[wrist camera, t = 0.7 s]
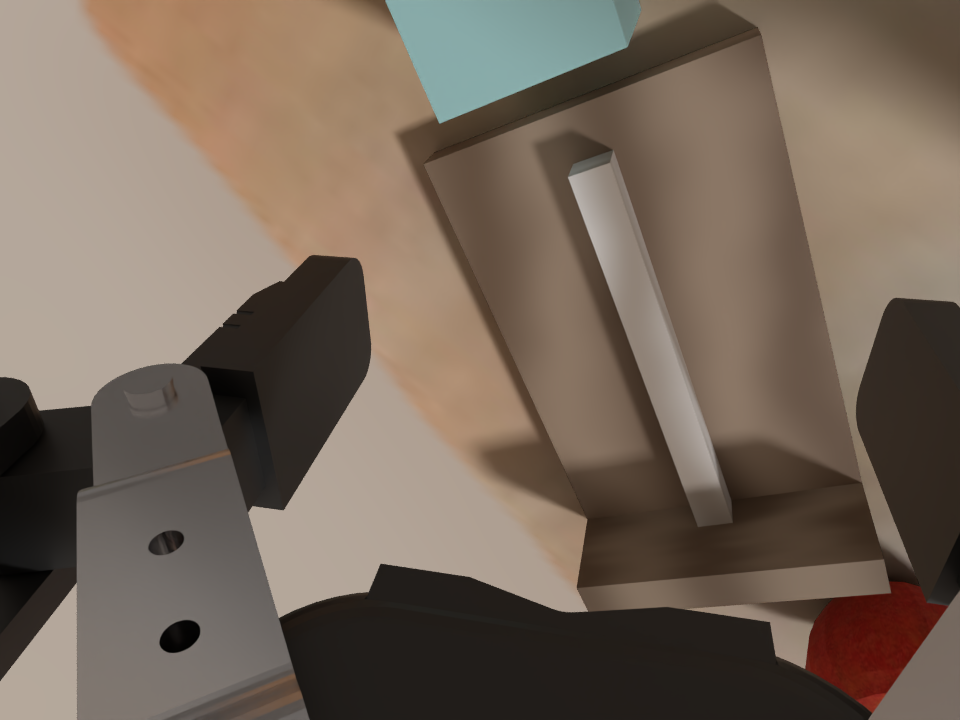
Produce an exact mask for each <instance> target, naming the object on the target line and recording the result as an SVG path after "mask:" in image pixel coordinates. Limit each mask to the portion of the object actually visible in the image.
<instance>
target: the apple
mask: <svg viewBox="0 0 960 720" xmlns="http://www.w3.org/2000/svg"><path fill="white" fill-rule="evenodd" d="M889 585H890V590H891V593H886V594H873V595H860V596H847V597H834V598H833V599H832V600H831V601H830V603H829V604H828V605H827V606H826V607H825V608H824V609H823V611H822V612H821V613H820V615H819V616H818V617H817V619H816V620H815V622H814V625H813V627H812V630H811V633H810V636H809V643H808V651H807V659H806V667H805V669H806V670H808V671H810V672H812V673H814V674H816V675H817V676H819V677H821V678H822V679H824V680H826V681H828V682H829V683H831V684H833V685H834V686H836V687H838V688H839V689H841V690H842V691H844V692H845V693H846V694H848V695H849V696H851V697H852V698H853V699H855V700H856V701H858V702H859V703H860V704H862V705H863V706H865V707H866V708H867V709H868V710H869V711H871V712H872V713H873V712H874V711H875V709H876V708H877V706H878V705H879V704H880V702H881V701H882V699H883V698H884V697H885V695H886V694H887V692H888V691H889V690H890V688H891V687H892V685H893V684H894V682H895V681H896V680H897V678H898V677H899V675H900V674H901V673H902V671H903V670H904V668H905V667H906V666H907V664H908V663H909V661H910V660H911V659H912V657H913V656H914V654H915V653H916V651H917V650H918V649H919V647H920V646H921V644H922V643H923V642H924V640H925V639H926V637H927V636H928V635H929V633H930V632H931V630H932V629H933V628H934V626H935V625H936V623H937V622H938V621H939V619H940V618H941V616H942V615H943V613H944V612H945V611H946V609H947V608H948V606H946V605H939V604H932V603H927V602H926V600H925V597H924V595H923V592H922V590H921V587H920V586H916V585H913V584H909V583H906V582H889Z"/></svg>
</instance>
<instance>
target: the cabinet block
mask: <svg viewBox="0 0 960 720" xmlns="http://www.w3.org/2000/svg"><path fill="white" fill-rule="evenodd" d="M385 1H386V3H387V6H388V8H389V10H390V12H391V15H392V17H393V19H394V22H395V24H396V26H397V28H398V31H399V33H400V35H401V37H402V40H403V42H404V44H405V47H406V49H407V51H408V53H409V56H410V58H411V60H412V62H413V65H414V67H415V69H416V72H417V74H418V76H419V78H420V81H421V83H422V85H423V87H424V90H425V92H426V94H427V97H428V99H429V101H430V103H431V106H432V108H433V110H434V112H435V115H436V117H437V119H438V122H439V124H440V123H442V122H445V121H447V120H450V119H452V118H455V117H457V116H460V115H462V114H465V113H467V112H469V111H472V110H474V109H477V108H479V107H482V106H484V105H487V104H489V103H492V102H494V101H497V100H499V99H501V98H504V97H506V96H509V95H511V94H514V93H516V92H519V91H521V90H524V89H526V88H529V87H531V86H533V85H536V84H538V83H541V82H543V81H546V80H548V79H551V78H553V77H556V76H558V75H561V74H563V73H565V72H568V71H570V70H573V69H575V68H578V67H580V66H583V65H585V64H588V63H590V62H592V61H595V60H597V59H600V58H602V57H605V56H607V55H610V54H612V53H615V52H617V51H620V50H622V49H624V48H627V47H628V45H629V42H630V39H631V37H632V34H633V31H634V29H635V26H636V23H637V21H638V18H639V15H640V12H641V7H640V3H639V0H385Z"/></svg>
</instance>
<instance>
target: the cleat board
mask: <svg viewBox="0 0 960 720" xmlns="http://www.w3.org/2000/svg"><path fill="white" fill-rule="evenodd" d="M423 165H424V167H425V169H426V171H427V173H428V175H429V178H430V180H431V182H432V184H433V186H434V188H435V191H436V193H437V195H438V197H439V199H440V201H441V204H442V206H443V208H444V210H445V212H446V214H447V217H448V219H449V221H450V223H451V225H452V227H453V230H454V232H455V234H456V236H457V238H458V240H459V242H460V245H461V247H462V249H463V251H464V253H465V255H466V258H467V260H468V262H469V264H470V266H471V268H472V271H473V273H474V275H475V277H476V279H477V281H478V284H479V286H480V288H481V290H482V292H483V294H484V297H485V299H486V301H487V303H488V305H489V307H490V310H491V312H492V314H493V316H494V318H495V320H496V323H497V325H498V327H499V329H500V331H501V333H502V335H503V338H504V340H505V342H506V344H507V346H508V348H509V351H510V353H511V355H512V357H513V359H514V361H515V364H516V366H517V368H518V370H519V372H520V374H521V377H522V379H523V381H524V383H525V385H526V387H527V390H528V392H529V394H530V396H531V398H532V400H533V403H534V405H535V407H536V409H537V411H538V413H539V415H540V418H541V420H542V422H543V424H544V426H545V428H546V431H547V433H548V435H549V437H550V439H551V441H552V444H553V446H554V448H555V450H556V452H557V454H558V457H559V459H560V461H561V463H562V465H563V467H564V470H565V472H566V474H567V476H568V478H569V480H570V483H571V485H572V487H573V489H574V491H575V493H576V496H577V498H578V500H579V502H580V504H581V506H582V508H583V511H584V513H585V515H586V517H587V519H588V520H587V526H586V533H585V539H584V545H583V552H582V558H581V564H580V570H579V577H578V583H577V590H578V592H579V594H580V596H581V598H582V600H583V602H584V604H585V606H586V608H587V610H588V612H590V611H607V610H623V609H640V608H656V607H672V608H678V609H690V608H703V607H716V606H729V605H742V604H755V603H768V602H781V601H794V600H808V599H821V598H834V597H847V596H860V595H873V594H886V593H891V590H890V585H889V581H888V576H887V571H886V567H885V562H884V558H883V555H882V551H881V548H880V544H879V541H878V537H877V534H876V530H875V527H874V523H873V520H872V516H871V513H870V509H869V506H868V502H867V499H866V495H865V492H864V488H863V485H862V481H861V476H860V472H859V468H858V463H857V459H856V454H855V450H854V445H853V441H852V436H851V432H850V428H849V423H848V419H847V414H846V410H845V405H844V401H843V397H842V392H841V388H840V383H839V379H838V374H837V370H836V365H835V361H834V357H833V352H832V348H831V343H830V339H829V334H828V330H827V325H826V321H825V317H824V312H823V308H822V303H821V299H820V294H819V290H818V285H817V281H816V277H815V272H814V268H813V263H812V259H811V254H810V250H809V245H808V241H807V237H806V232H805V228H804V223H803V219H802V214H801V210H800V205H799V201H798V197H797V192H796V188H795V183H794V179H793V174H792V170H791V166H790V161H789V157H788V152H787V148H786V143H785V139H784V134H783V130H782V126H781V121H780V117H779V112H778V108H777V103H776V99H775V94H774V90H773V86H772V81H771V77H770V72H769V68H768V63H767V59H766V54H765V50H764V46H763V41H762V37H761V34H760V31H759V29H758V27H757V28H754V29H751V30H749V31H746V32H744V33H741V34H739V35H736V36H733V37H731V38H728V39H726V40H723V41H721V42H718V43H715V44H713V45H710V46H708V47H705V48H703V49H700V50H697V51H695V52H692V53H690V54H687V55H685V56H682V57H679V58H677V59H674V60H672V61H669V62H667V63H664V64H661V65H659V66H656V67H654V68H651V69H649V70H646V71H643V72H641V73H638V74H636V75H633V76H631V77H628V78H625V79H623V80H620V81H618V82H615V83H613V84H610V85H607V86H605V87H602V88H600V89H597V90H595V91H592V92H589V93H587V94H584V95H582V96H579V97H577V98H574V99H571V100H569V101H566V102H564V103H561V104H559V105H556V106H553V107H551V108H548V109H546V110H543V111H541V112H538V113H535V114H533V115H530V116H528V117H525V118H523V119H520V120H517V121H515V122H512V123H510V124H507V125H505V126H502V127H499V128H497V129H494V130H492V131H489V132H487V133H484V134H481V135H479V136H476V137H474V138H471V139H468V140H466V141H463V142H461V143H458V144H456V145H453V146H450V147H448V148H445V149H443V150H440V151H438V152H435V153H434V154H433V155H432V156H431V157H430V158H429V159H428V160H427V161H426V162H425V163H424V164H423Z"/></svg>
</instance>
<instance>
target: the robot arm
mask: <svg viewBox="0 0 960 720" xmlns="http://www.w3.org/2000/svg"><path fill="white" fill-rule="evenodd" d="M370 356H371V339H370V330H369V321H368V312H367V303H366V294H365V285H364V276H363V270H362V266H361V264H360V262H359V260H358V259H356V258H348V257H334V256H320V255H311V256H309V257H308V258H307V259H306V260H305V261H304V262H303V263H302V264H301V265H300V266H299V267H298V268H297V269H296V270H295V271H294V272H293V273H292V274H291V275H290V276H289V277H288V278H287V279H286V280H285V281H284V282H282V281H279V282H277V283H275V284H273V285H271V286H269V287H267V288H265V289H263V290H261V291H259V292H257V293H255V294H254V295H252V296H251V297H250V298H249V299H248V300H247V301H246V302H245V303H244V304H243V305H242V306H241V307H240V308H239V309H238V310H237V314H233V315H231V316H230V317H229V318H228V320H226V321H225V322H224V323H223V327H219V328H218V329H217V330H216V331H215V332H214V333H213V334H212V335H211V336H210V337H209V338H208V339H207V340H205V342H203V344H202V345H200V346H199V347H198V348H197V349H196V350H195V351H194V352H193V353H192V354H191V355H190V356H189V357H188V358H187V359H186V360H185V361H184V362H183V363H182V364H160V365H152V366H147V367H143V368H140V369H136V370H134V371H131V372H128V373H126V374H124V375H121V376H119V377H117V378H116V379H114V380H112V381H110V382H109V383H108V384H106V385H105V386H104V387H102V388H101V389H100V390H99V391H98V393H97V394H96V395H95V396H94V399H93V401H92V405H91V406H85V407H75V408H64V409H53V410H43V411H39V410H38V408H37V405H36V403H35V400H34V398H33V396H32V393H31V391H30V389H29V386H28V385H27V384H26V383H24V382H22V381H21V380H17V379H14V378H7V377H0V681H1V679H2V678H3V677H4V675H5V674H6V673H7V671H8V670H9V669H10V668H11V666H12V665H13V664H14V663H15V661H16V660H17V659H18V657H19V656H20V655H21V654H22V652H23V651H24V650H25V648H26V647H27V646H28V645H29V643H30V642H31V641H32V639H33V638H34V636H36V634H37V633H38V632H39V630H40V629H41V628H42V627H43V625H44V624H45V623H46V621H47V620H48V619H49V618H50V616H51V615H52V614H53V612H54V611H55V610H56V609H57V607H58V606H59V605H60V603H61V602H62V601H63V600H64V598H65V597H66V596H67V594H68V593H69V592H70V591H71V589H72V588H73V587H74V585H75V584H76V583H77V720H960V307H959V306H958V305H957V304H956V303H954V302H947V301H933V300H919V299H905V298H894V299H892V300H891V301H890V302H889V304H888V305H887V307H886V309H885V311H884V313H883V316H882V319H881V322H880V325H879V328H878V332H877V335H876V338H875V341H874V344H873V347H872V350H871V353H870V356H869V360H868V363H867V366H866V369H865V372H864V375H863V378H862V381H861V385H860V388H859V392H858V396H857V404H856V420H857V426H858V430H859V433H860V436H861V438H862V441H863V443H864V446H865V448H866V451H867V453H868V456H869V458H870V461H871V463H872V466H873V468H874V471H875V473H876V476H877V478H878V481H879V484H880V486H881V489H882V491H883V494H884V496H885V499H886V501H887V504H888V506H889V509H890V511H891V514H892V516H893V519H894V521H895V524H896V526H897V529H898V532H899V534H900V537H901V539H902V542H903V544H904V547H905V549H906V552H907V554H908V557H909V559H910V562H911V564H912V567H913V569H914V572H915V574H916V577H917V579H918V582H919V585H920V587H921V590H922V592H923V595H924V597H925V600H926V602H927V603H932V604H939V605H946V606H948V608H947V609H946V611H945V612H944V613H943V615H942V616H941V618H940V619H939V621H938V622H937V623H936V625H935V626H934V628H933V629H932V630H931V632H930V633H929V635H928V636H927V637H926V639H925V640H924V642H923V643H922V644H921V646H920V647H919V649H918V650H917V651H916V653H915V654H914V656H913V657H912V659H911V660H910V661H909V663H908V664H907V666H906V667H905V668H904V670H903V671H902V673H901V674H900V675H899V677H898V678H897V680H896V681H895V682H894V684H893V685H892V687H891V688H890V690H889V691H888V692H887V694H886V695H885V697H884V698H883V699H882V701H881V702H880V704H879V705H878V706H877V708H876V709H875V711H874V712H873V713H872V712H871V711H869V710H868V709H867V708H866V707H865V706H863V705H862V704H860V703H859V702H858V701H856V700H855V699H853V698H852V697H851V696H849V695H848V694H846V693H845V692H844V691H842V690H841V689H839V688H838V687H836V686H834V685H833V684H831V683H829V682H828V681H826V680H824V679H822V678H821V677H819V676H817V675H816V674H814V673H812V672H810V671H808V670H806V669H804V668H801V667H799V666H797V665H795V664H793V663H791V662H789V661H786V660H784V659H781V658H779V657H776V656H775V650H774V644H773V638H772V632H771V626H770V622H765V621H758V620H751V619H745V618H738V617H731V616H725V615H718V614H711V613H705V612H698V611H692V610H685V609H678V608H672V607H656V608H640V609H623V610H607V611H590V612H572V613H571V612H561V611H557V610H554V609H551V608H548V607H546V606H543V605H541V604H538V603H536V602H533V601H530V600H527V599H525V598H522V597H520V596H517V595H515V594H512V593H509V592H507V591H504V590H502V589H499V588H497V587H494V586H491V585H489V584H486V583H483V582H481V581H478V580H476V579H473V578H471V577H465V576H458V575H452V574H445V573H439V572H432V571H426V570H419V569H412V568H406V567H398V566H392V565H386V564H380V567H379V569H378V572H377V574H376V576H375V579H374V581H373V584H372V586H371V588H370V591H369V592H366V593H356V594H349V595H344V596H338V597H334V598H330V599H326V600H323V601H319V602H316V603H313V604H310V605H307V606H305V607H302V608H300V609H297V610H294V611H292V612H290V613H288V614H286V615H284V616H282V617H280V618H278V614H277V611H276V608H275V604H274V601H273V597H272V594H271V590H270V587H269V584H268V580H267V577H266V573H265V570H264V566H263V563H262V560H261V556H260V553H259V550H258V546H257V542H256V539H255V535H254V532H253V529H252V525H251V522H250V518H249V515H248V512H249V510H250V509H251V507H252V506H256V507H263V508H271V509H278V510H284V509H285V507H286V505H287V504H288V502H289V501H290V499H291V497H292V496H293V494H294V492H295V491H296V489H297V488H298V486H299V484H300V483H301V481H302V479H303V478H304V476H305V474H306V473H307V471H308V470H309V468H310V466H311V465H312V463H313V462H314V460H315V458H316V457H317V455H318V453H319V452H320V450H321V449H322V447H323V445H324V444H325V442H326V440H327V439H328V437H329V435H330V434H331V432H332V431H333V429H334V427H335V426H336V424H337V422H338V421H339V419H340V418H341V416H342V414H343V413H344V411H345V410H346V408H347V406H348V405H349V403H350V401H351V400H352V398H353V397H354V395H355V393H356V392H357V390H358V388H359V387H360V385H361V383H362V382H363V380H364V378H365V377H366V374H367V371H368V367H369V363H370Z"/></svg>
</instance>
